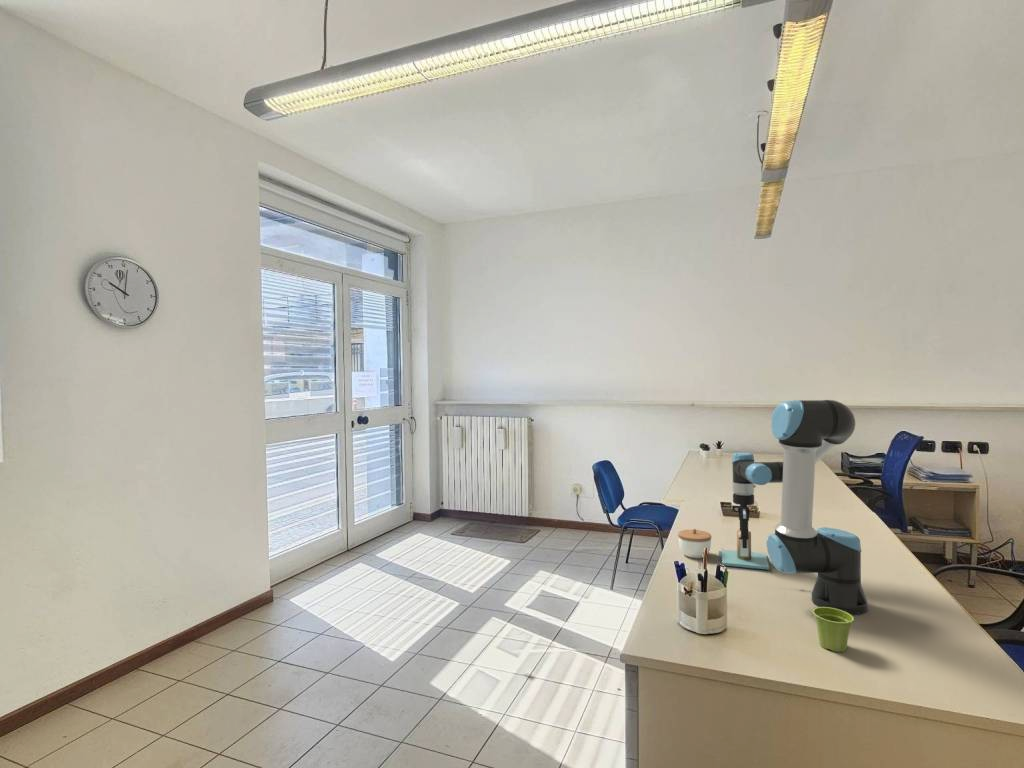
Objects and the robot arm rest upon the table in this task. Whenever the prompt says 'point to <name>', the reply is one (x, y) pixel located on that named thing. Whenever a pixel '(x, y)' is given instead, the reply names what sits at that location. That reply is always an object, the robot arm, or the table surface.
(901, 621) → the table surface
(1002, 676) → the table surface
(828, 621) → the plant pot
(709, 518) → the table surface
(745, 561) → the cover board
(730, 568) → the mat
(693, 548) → the lidded bowl
